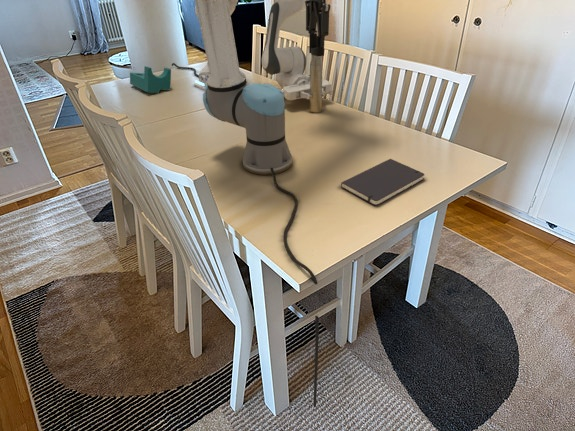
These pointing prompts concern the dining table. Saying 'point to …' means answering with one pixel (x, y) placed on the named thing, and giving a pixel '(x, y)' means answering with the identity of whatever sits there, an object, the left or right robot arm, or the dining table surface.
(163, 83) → the green notched holder
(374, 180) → the notebook
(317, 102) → the bottle
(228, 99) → the right robot arm
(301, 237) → the dining table surface
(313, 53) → the cap
